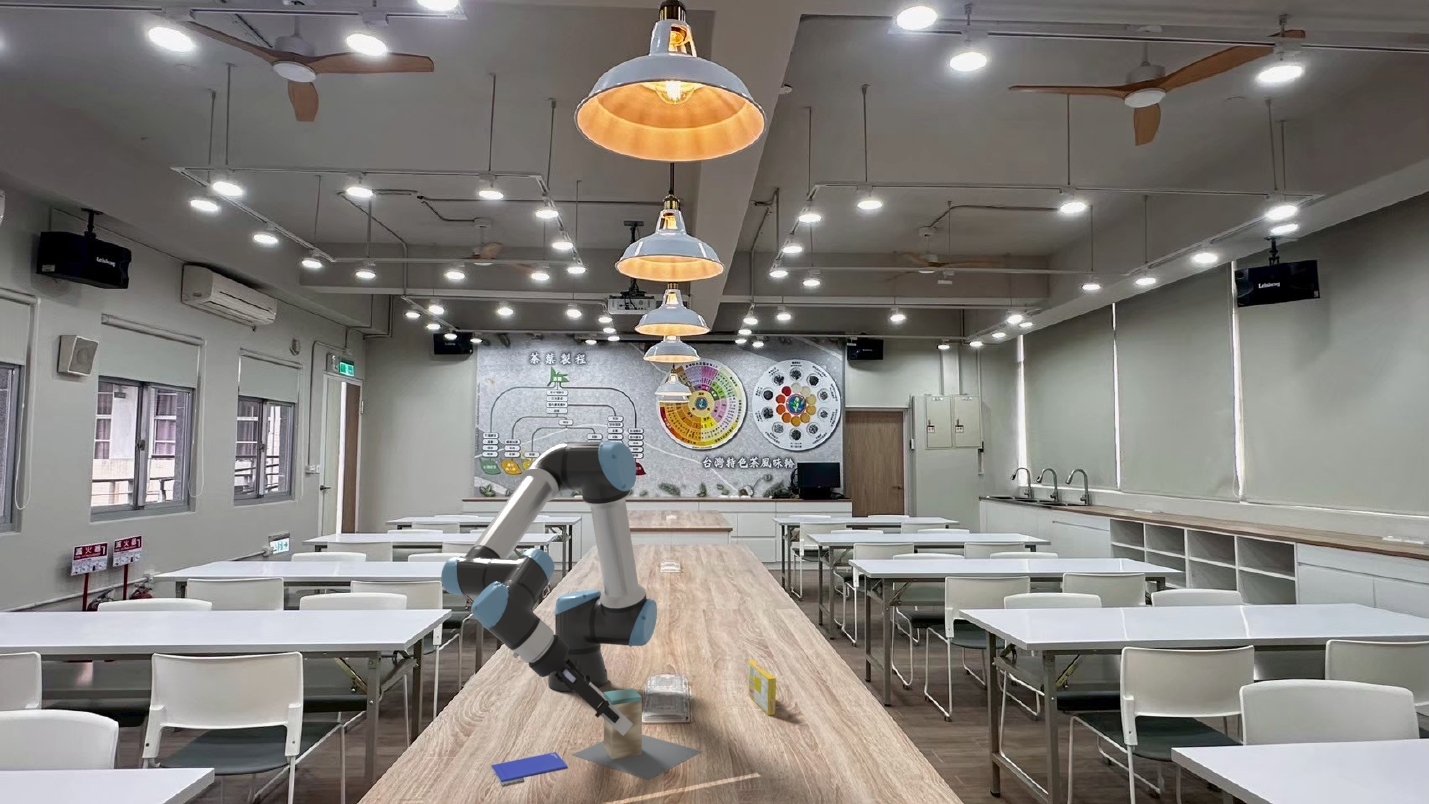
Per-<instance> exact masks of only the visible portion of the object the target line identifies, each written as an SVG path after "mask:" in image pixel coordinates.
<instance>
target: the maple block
mask: <svg viewBox="0 0 1429 804" xmlns="http://www.w3.org/2000/svg"><path fill="white" fill-rule="evenodd" d="M603 694H604V699H605V700H607V701H609V702H610V703H611V704H612V705H613V706H614V707H615V708H616V709H617V710H618V711H619V712H621V713H622V714H623V715H624V716H625V717H626V718H627V719H628V720H629V721H630V722H632V724H633V725H632V726H631V727H630V729H629V730H628V731H627V732H626V733H625V735H624V736H623V735H622V734H620V733H619V732H618V731H617V730H616V729H615V728H614V727H613V726H612V725H611V724H609V723H608V722H607V721H606V720H605V719H604V718H603V741H604V749H605V751H606V752H607V753H608V755H609V756H610V757H611V758H612V759H617V758H623V757H628V756H634V755H640V754H642V735H643V728H642V727H643V726H642V725H643V724H642V723H643V722H642V721H643V719H642V717H643V716H642V715H643V710H642V707H643V706H642V705H643V703H642V698H643V697H642V695H641V694H640V693H638V692H637V690H635V689H634V688H632V687H631V688H625V689H618V690H617V689H616V690H609V691H603Z"/></svg>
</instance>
